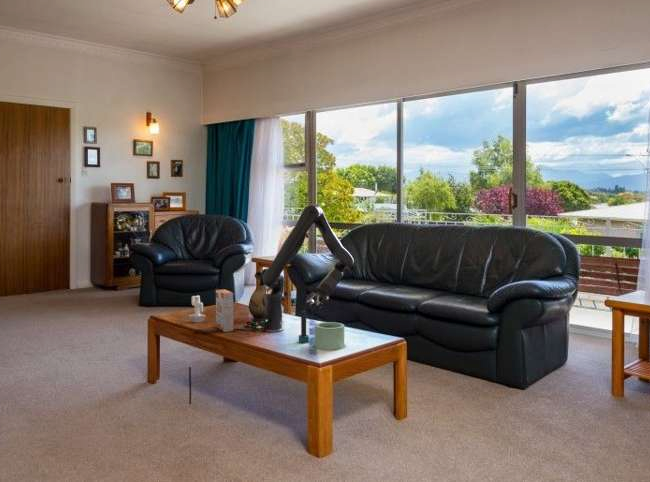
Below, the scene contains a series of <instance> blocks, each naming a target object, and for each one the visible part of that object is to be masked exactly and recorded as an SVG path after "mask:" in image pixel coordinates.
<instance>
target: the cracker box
mask: <svg viewBox="0 0 650 482" xmlns="http://www.w3.org/2000/svg"><path fill="white" fill-rule="evenodd" d="M215 327H216V328H217V330H223V331H222V333H229V332H234V330H233V329H234V292H232V291H230V290H227V289H216V290H215Z"/></svg>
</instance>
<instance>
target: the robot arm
mask: <svg viewBox="0 0 650 482" xmlns="http://www.w3.org/2000/svg"><path fill="white" fill-rule="evenodd" d="M313 224H314V225H315V226H316V227H317V229H318V231H319V233H320V235H321V238H322V240H323V242H324V244H325V245H326V248H328V250H329V252H330V254H332V256H335V257H336V258H337V259H338V260H337V261H336V262H335V264H334V265H333V267H332V269H331V270H330V271H329V272H328V274H327V275H325V277H324V278H323V279H322V280H321V282H320V283H319V285H317V287H316V291H315V293H314V292H311V293H310V294H309V295H308V296H307V297H306V299H305V300H304V302H305V304H304V306H303V307H302V311H306V312H307V310H308V309H309V308H310V306H311V305H314V304H316V305H315V306H314V307H313V309H311V312H312V314H315V315H316V313H317V312H318V311H319V310H320V309H321V308H322V309H324V308H325V306H326V305H327V303H328V302H329V300H330V296H331V295H332V293H333V292H334V291H335V289H336V288H337V286H338V284H339V283H340V282H341V280H342V279H343V277H344V274H345V273H346V272H347V270H349V269H350V268H352V267H353V266H354V263H355V262H354V261H355V260H354V257H353V256H352V254H351V253H350V252H349V251H348V250H347V249H346V248H345V247H344V246H343V245H342V243H341V241H340V240H339V239H338V237H337V235H336V233H334V231H333V229H332V228H331V226H330V224H329V222H328V220H327V218H326V216H325V214H324V211H323V209H322V207H321V206H320V205H319V204H317V203H310V204H307V205H306V206H305V207H304V208H303V209H302V210H301V213H300V215H299V218H298V220H297V221H296V223H295V225H294V226H293V228H292V229H291V231H290V232H289V234H288V235H287V237H286V239H285V240H284V242H283V243H282V245H281V247H280V249H279V250H278V252H277V253H276V256H275V258H274V259H273V260H272V262H271V263H270V265H269V266H268V267H267V268H268V269H267V268H266V269H267V270H266V271H265V273H264V275H263V282H264V284H265V285H266V286H268V290H267V292H266V294H265V314H264V320H262V321H260V323H258V324H256V325H255V326H254V327H253V329H245V328H233V331H243V332H255V331H256V330H257V327H260V328H263V329H264V330H263V331H264V332H268V333H269V332H271V333H277V332H281V331H283V295H284V287H285V275H284V273H283V271H284V269H285V268H286V267H287V265H289V264H290V263H291V262H292V261H293V259H295V257H296V256H297V255H298V253H299V252H300V250H301V249H302V247H303V245H304V242H305V239H306V237H307V234H308V232H309V230H310V229H311V227H312V226H313ZM198 332H200V333H205V334H210V333H220V332H223V330H220V329H216V330H204V329H197V330H195V331H194V332H193V334H197V333H198ZM191 368H192V367H191V366H189V367H188V385H189V386H188V387H189V389H188V390H189V392H188V393H189V394H188V397H189V398H188V399H189V400H188V401H189V402H188V405H189V404H191V405H192V369H191Z"/></svg>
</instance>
